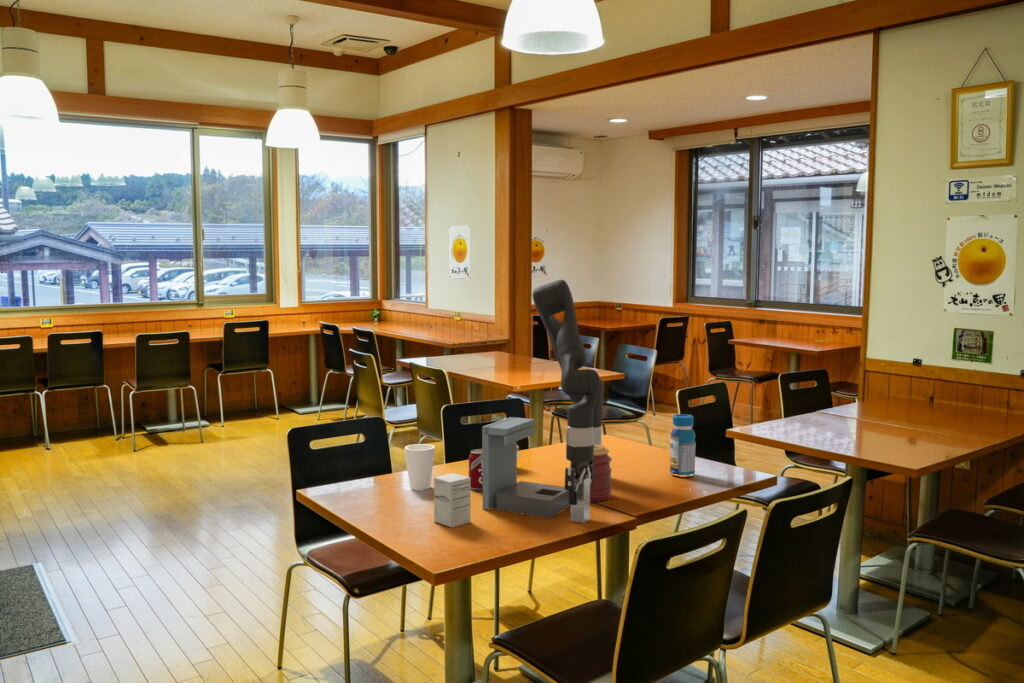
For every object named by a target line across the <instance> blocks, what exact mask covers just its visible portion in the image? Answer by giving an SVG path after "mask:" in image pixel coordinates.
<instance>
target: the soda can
mask: <svg viewBox="0 0 1024 683" xmlns="http://www.w3.org/2000/svg"><path fill="white" fill-rule="evenodd" d="M468 477H469V478H471V490H473V491H476V490H483V477H482V448H477V449H476V448H475V449H471V450H470V454H469V456H468Z"/></svg>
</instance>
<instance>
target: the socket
mask: <svg viewBox="0 0 1024 683" xmlns="http://www.w3.org/2000/svg"><path fill="white" fill-rule="evenodd" d="M569 506H570V504H569V491H568V490H565V486H559V485H554V484H546V483H539V482H538V483H537V482H531V481H524V480H520V481H517V483H516V484H514V486H511V487H509V488H507V489H503V490H501V491H499V492H497V493H496V506H495V507H496V511H500V510H504V511H503V512H506V511H510V512H509V513H512V512H516V513H515V514H519V513H523V514H522V515H525V514H528V515H527V516H531V515H534V516H533V517H538V516H540V518H544V517H546V518H545V519H551V517H552V518H553V517H555V516H556V515H558V514H560V513H561V512H563V511H565V510H566V509H568V508H570V507H571V506H570V507H569ZM567 507H568V508H567ZM564 509H565V510H564ZM562 510H563V511H562ZM559 512H560V513H559ZM554 515H555V516H554Z"/></svg>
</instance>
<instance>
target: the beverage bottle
mask: <svg viewBox="0 0 1024 683" xmlns="http://www.w3.org/2000/svg"><path fill="white" fill-rule="evenodd" d="M694 420H695V418H694V416H693V415H692V414H684V413H681V414H680V413H679V414H678V413H676V414H674V415H673V417H672V426H673V429H672V430H671V431H670V435H669V436H670V438H671V439H670V442H669V447H670V449H669V450H670V452H669V453H670V457H669V458H670V459H669V461H670V462H669V465H670V467H669V473H670V472H671V473H673V474H678V475H690V474H694V473H695V472H696V447H697V443H696V441H695V440H696V433H695V429H693V426H695V425H694V424H695V421H694ZM695 474H696V473H695Z"/></svg>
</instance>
